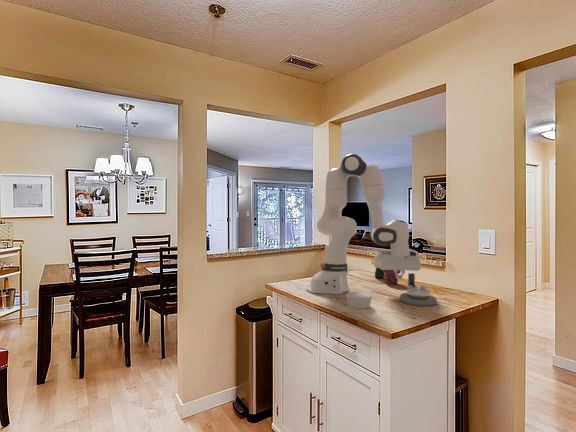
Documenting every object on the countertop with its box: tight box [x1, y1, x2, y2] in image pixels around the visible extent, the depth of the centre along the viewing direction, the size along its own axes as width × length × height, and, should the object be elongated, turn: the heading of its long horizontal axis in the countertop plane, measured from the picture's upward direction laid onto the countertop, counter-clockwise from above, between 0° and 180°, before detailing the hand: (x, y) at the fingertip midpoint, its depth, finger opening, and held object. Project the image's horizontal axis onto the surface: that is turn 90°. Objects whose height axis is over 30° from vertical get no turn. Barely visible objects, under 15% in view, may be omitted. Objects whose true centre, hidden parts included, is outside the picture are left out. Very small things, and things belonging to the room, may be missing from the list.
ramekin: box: [345, 291, 373, 310], centre depth 149 cm, size 11×11×5 cm
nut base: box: [399, 292, 438, 307], centre depth 158 cm, size 16×16×2 cm
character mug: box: [371, 255, 385, 279], centre depth 209 cm, size 11×7×13 cm, turn 55°
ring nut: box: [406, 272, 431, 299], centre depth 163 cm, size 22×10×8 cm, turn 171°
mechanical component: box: [383, 270, 402, 285], centre depth 195 cm, size 12×10×10 cm
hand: (399, 278), depth 173 cm, fingers closed
